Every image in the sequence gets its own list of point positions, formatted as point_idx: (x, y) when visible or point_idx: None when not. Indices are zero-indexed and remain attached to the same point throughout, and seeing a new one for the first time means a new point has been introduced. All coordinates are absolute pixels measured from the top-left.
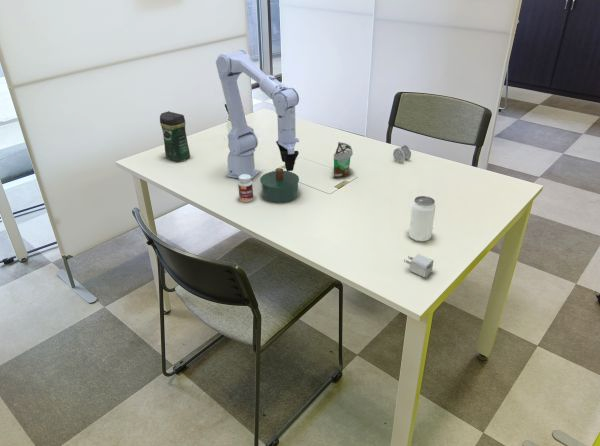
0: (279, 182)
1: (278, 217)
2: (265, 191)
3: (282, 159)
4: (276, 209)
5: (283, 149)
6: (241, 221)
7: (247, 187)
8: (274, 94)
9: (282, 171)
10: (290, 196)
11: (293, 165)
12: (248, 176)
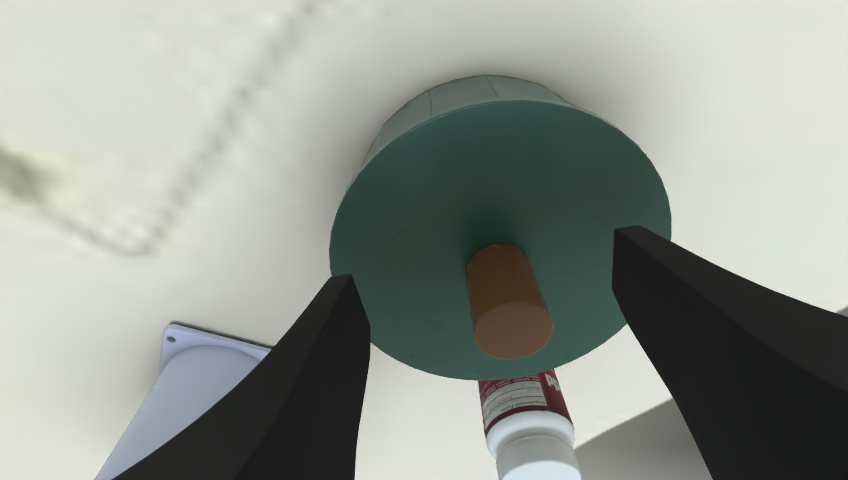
0: (568, 269)
1: (779, 201)
2: None
3: (368, 352)
4: (675, 215)
5: (337, 470)
6: None
7: (570, 419)
8: None
9: (537, 300)
10: None
11: (697, 262)
12: (541, 470)
